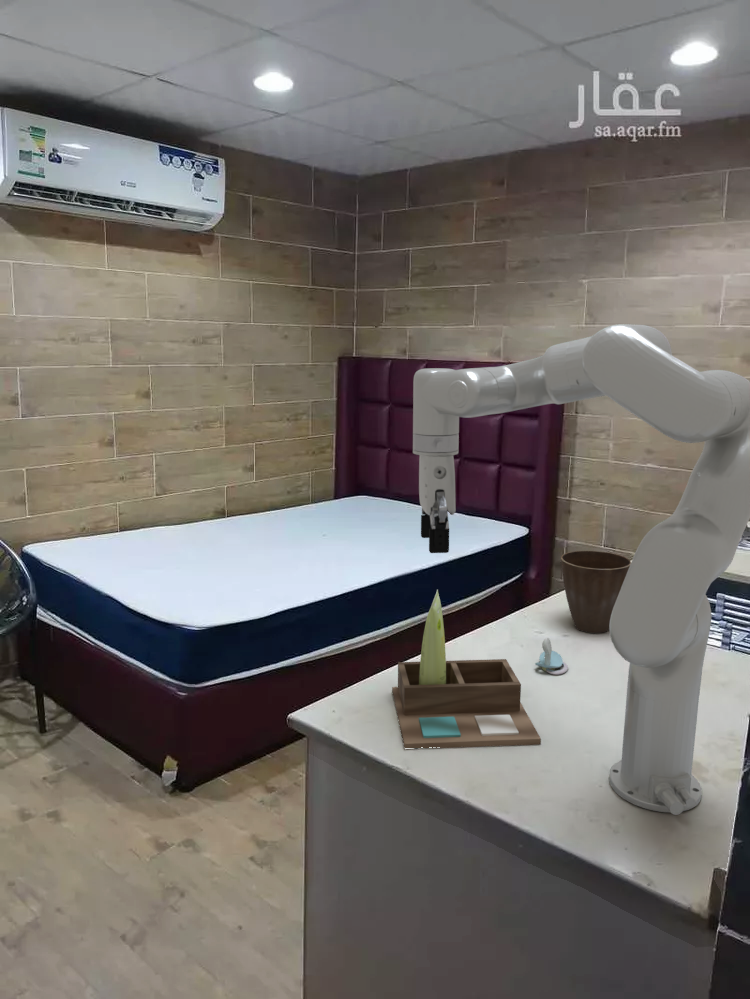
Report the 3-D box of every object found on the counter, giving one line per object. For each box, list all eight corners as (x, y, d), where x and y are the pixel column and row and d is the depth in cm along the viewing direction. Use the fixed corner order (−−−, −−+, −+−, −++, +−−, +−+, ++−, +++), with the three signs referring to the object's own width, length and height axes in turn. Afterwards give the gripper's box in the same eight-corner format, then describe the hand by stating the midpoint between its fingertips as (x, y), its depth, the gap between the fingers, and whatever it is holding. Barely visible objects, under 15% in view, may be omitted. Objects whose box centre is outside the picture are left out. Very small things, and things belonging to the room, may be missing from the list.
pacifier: (571, 665, 153) (541, 659, 155) (573, 636, 151) (543, 630, 154) (563, 680, 146) (532, 673, 149) (566, 649, 145) (535, 643, 147)
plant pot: (544, 626, 173) (547, 558, 169) (580, 610, 183) (584, 546, 179) (602, 645, 162) (607, 573, 159) (638, 628, 172) (643, 559, 169)
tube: (453, 704, 134) (456, 598, 130) (429, 711, 131) (431, 603, 127) (435, 691, 138) (437, 589, 134) (412, 698, 136) (413, 593, 132)
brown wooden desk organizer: (540, 744, 123) (542, 710, 121) (404, 749, 121) (404, 714, 120) (509, 688, 142) (511, 658, 141) (392, 692, 140) (392, 661, 139)
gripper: (468, 451, 118) (466, 558, 121) (449, 437, 134) (447, 531, 138) (420, 452, 117) (419, 559, 121) (406, 438, 134) (406, 532, 137)
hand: (434, 544), depth 129 cm, fingers open, 9 cm apart
